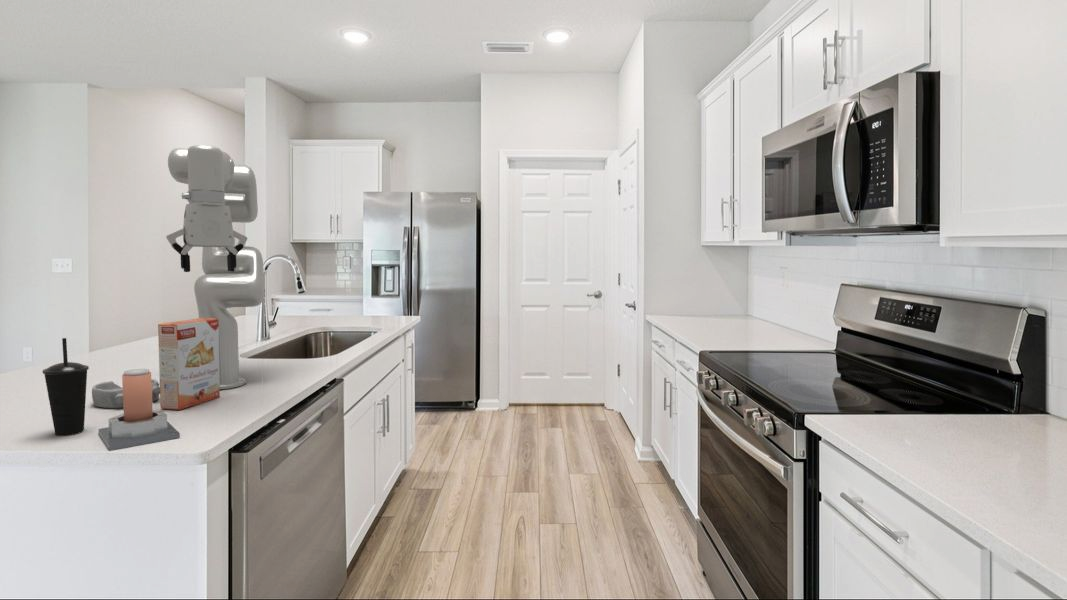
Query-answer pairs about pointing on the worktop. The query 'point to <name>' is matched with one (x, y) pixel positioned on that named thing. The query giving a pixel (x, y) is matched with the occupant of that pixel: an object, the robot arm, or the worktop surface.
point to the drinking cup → (67, 394)
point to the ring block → (137, 431)
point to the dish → (116, 394)
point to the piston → (137, 395)
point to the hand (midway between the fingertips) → (209, 271)
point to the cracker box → (188, 362)
